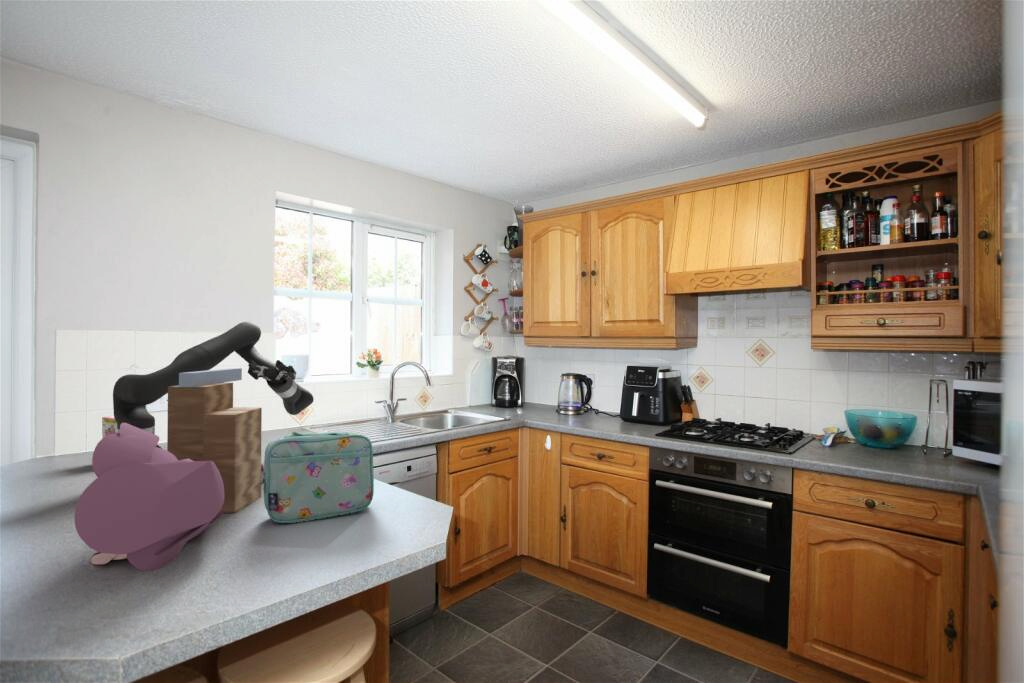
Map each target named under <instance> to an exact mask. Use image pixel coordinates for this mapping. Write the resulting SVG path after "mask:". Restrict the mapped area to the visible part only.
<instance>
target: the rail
mask: <svg viewBox="0 0 1024 683" xmlns="http://www.w3.org/2000/svg"><path fill="white" fill-rule="evenodd" d="M242 371H243V368H242V367H240V368H239V367H238V368H237V367H235V368H234V367H233V368H232V367H231V368H230V367H228V368H219V369H210V370H206V371H196V372H186V373H179V387H196V386H203V385H210V384H217V383H232V382H237V381H242V380H243V379H242V376H243V374H242V373H243V372H242Z"/></svg>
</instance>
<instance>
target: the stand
mask: <svg viewBox="0 0 1024 683" xmlns="http://www.w3.org/2000/svg"><path fill="white" fill-rule="evenodd" d="M262 410H263V408H262V407H234V382H224V383H217V384H210V385H203V386H196V387H179V385H178V386H171V387H168V393H167V431H166V432H167V436H166V437H167V438H166V439H167V448H166V451H168V452H170V453H172V454H173V455H174V456H175V457H176V458H177V459H178V460H183V459H188V458H189V459H191V460H192V461H213V462H214V463H215V465H216V467H217V469H218V470H219V472H220V475H221V477H222V480H223V484H224V503H223V506H222V510H221V514H236V513H237V512H239V511H241V510H242V509H243V508H246V506H248V505H249V504H251V503H253V502H255V501H256V500H258V499H260V498H261V497H262V486H261V487H259V486H260V484H261V482H262V471H261V465H262V419H263V418H262V414H263V413H262Z"/></svg>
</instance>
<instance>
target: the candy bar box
mask: <svg viewBox="0 0 1024 683" xmlns="http://www.w3.org/2000/svg"><path fill="white" fill-rule="evenodd" d="M101 418H102V419H101V420H102V423H101V424H102V432H101V435H102V437H101V439H103V438H104V437H105V436H107V435H109V434H113V433H117V422H116V421H115V418H114V415H110V416H103V417H101Z"/></svg>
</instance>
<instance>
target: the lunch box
mask: <svg viewBox="0 0 1024 683" xmlns="http://www.w3.org/2000/svg"><path fill="white" fill-rule="evenodd" d="M373 450H374V448H373V443H372V441H371V439H370V438H369V437H368V436H366V435H363V434H362V433H359V432H352V431H351V432H350V431H349V432H348V431H342V432H341V431H340V432H339V431H338V432H336V431H335V432H330V431H329V432H328V431H327V432H319V433H317V432H314V433H313V432H312V433H306V432H305V433H299V432H296V431H294V430H293V431H291V435H284V436H282V437H281V436H280V437H278V438H275V439H272V440H271V441H269V442H268V444H267V445H266V448H265V450H264V459H263V461H264V462H263V477H262V478H261V484H260V486H259V487H261V488H262V486H263V501H264V502H263V503H264V508H265V510H266V511H267V515H268V516H269V519H271V520H272V521H273V522H275V523H278V524H294V523H295V524H297V523H304V522H303V521H305V522H309V520H311V521H315V519H317V520H323V519H327V517H328V518H332V517H337V516H338V515H340V516H345V514H346V515H350V514H354V513H358V512H361V511H362V510H365V509H367V508H368V507H369V506H370V504H371V503H372V501H373V498H374V494H375V493H374V492H375V491H374V490H375V488H374V485H375V484H374V481H375V480H374V479H375V478H374V477H375V476H374V451H373ZM349 513H350V514H349ZM338 517H339V516H338ZM322 518H323V519H322ZM296 522H297V523H296Z"/></svg>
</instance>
